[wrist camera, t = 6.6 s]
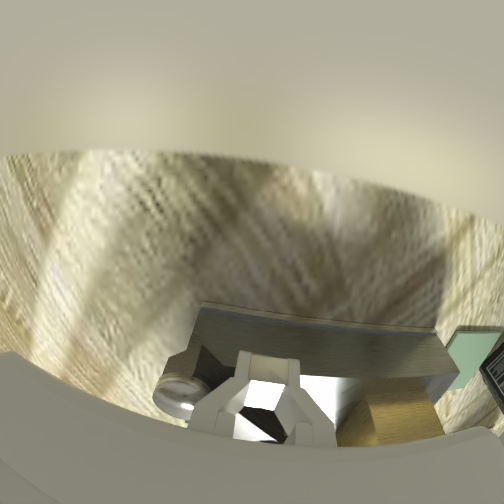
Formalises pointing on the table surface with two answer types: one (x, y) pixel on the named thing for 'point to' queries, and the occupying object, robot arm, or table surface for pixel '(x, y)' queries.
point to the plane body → (331, 354)
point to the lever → (200, 385)
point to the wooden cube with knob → (390, 420)
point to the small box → (495, 375)
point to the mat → (470, 353)
